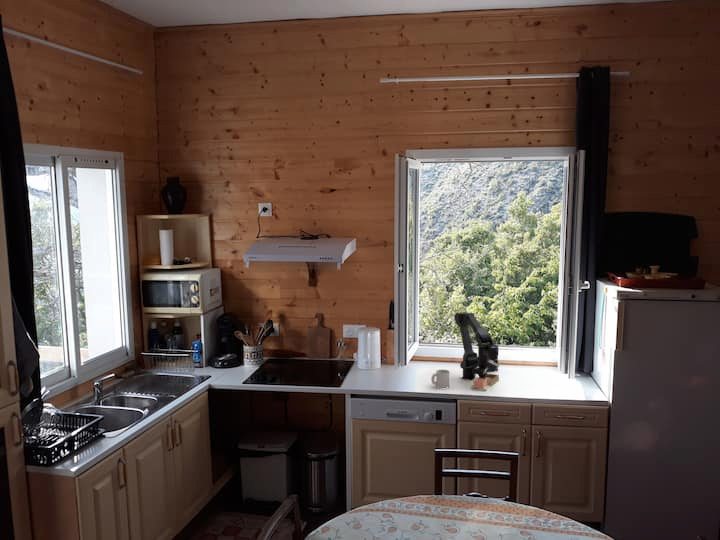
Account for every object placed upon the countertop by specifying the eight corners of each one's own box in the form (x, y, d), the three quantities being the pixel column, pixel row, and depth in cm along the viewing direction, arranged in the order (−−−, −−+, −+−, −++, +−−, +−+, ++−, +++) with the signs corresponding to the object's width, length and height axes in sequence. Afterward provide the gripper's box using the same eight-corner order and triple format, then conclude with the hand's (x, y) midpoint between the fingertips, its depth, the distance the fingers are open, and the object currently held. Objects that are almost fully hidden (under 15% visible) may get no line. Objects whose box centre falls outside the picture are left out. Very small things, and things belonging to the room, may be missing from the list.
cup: (450, 388, 334) (450, 373, 332) (432, 389, 333) (432, 373, 332) (448, 384, 341) (448, 369, 340) (430, 385, 340) (430, 369, 339)
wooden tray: (470, 388, 333) (470, 383, 333) (484, 377, 353) (484, 372, 353) (485, 391, 329) (485, 385, 328) (498, 380, 348) (498, 375, 348)
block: (473, 387, 333) (473, 380, 332) (477, 384, 338) (477, 377, 337) (483, 388, 330) (483, 381, 329) (486, 385, 335) (486, 378, 335)
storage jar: (479, 370, 368) (479, 346, 366) (484, 366, 376) (485, 343, 375) (495, 372, 363) (495, 348, 361) (500, 368, 371) (500, 345, 369)
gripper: (492, 361, 324) (491, 389, 326) (502, 353, 340) (502, 380, 342) (472, 358, 330) (472, 386, 332) (483, 351, 346) (483, 377, 347)
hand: (483, 382), depth 338 cm, fingers closed
